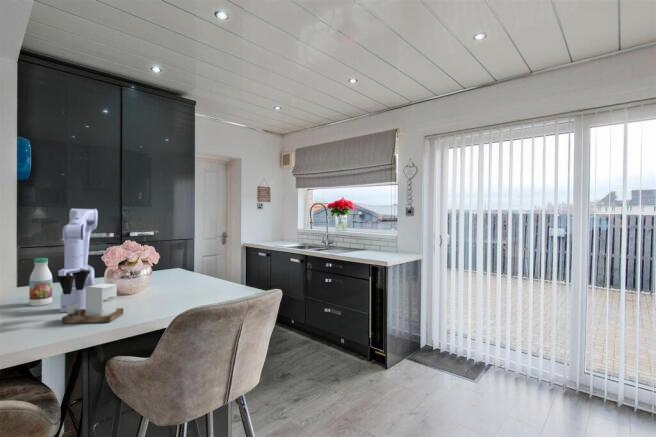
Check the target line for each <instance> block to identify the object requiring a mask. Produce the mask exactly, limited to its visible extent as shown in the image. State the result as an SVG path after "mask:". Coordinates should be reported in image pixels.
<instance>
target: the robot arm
mask: <svg viewBox="0 0 656 437" xmlns="http://www.w3.org/2000/svg"><path fill="white" fill-rule="evenodd" d="M98 213H99V211H98V210H97V208H71V209H69V217H68V218H69V219H68V220H69V222H68V224H66V225H64V226H63V228H62V239H63V245H64V267H63V268H62V269H59V270H58V274H57V275H55V277H56V280H57V281H58V282H59V283H58V284H60V286H61V290H62V291H61V294H60V310H59V313H67V305H68V304H70V303H79V309H85V304H86V287H88V286H93V285H95V280H96V279H95V269H94V267H92V266H91V265H89V264H88V263H89V262H88V261H89V249H90V239H91V238H90V237H91V235H92V232H93V231H95V230H96V229H97V226H98V219H99V218H98V217H99V214H98Z"/></svg>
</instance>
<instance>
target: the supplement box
mask: <svg viewBox="0 0 656 437" xmlns="http://www.w3.org/2000/svg"><path fill="white" fill-rule="evenodd" d="M117 290H118V284H117V283H99V284H97V283H96V284H94V285H93V286H88V287H86V304H85V315H84V316H108V315H110V314H112V313H113V312H115V311H116V308H117V306H118V303H117V301H118V299H117V297H118V295H117V294H118V291H117Z"/></svg>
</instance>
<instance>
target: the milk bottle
mask: <svg viewBox="0 0 656 437" xmlns="http://www.w3.org/2000/svg"><path fill="white" fill-rule="evenodd" d="M33 261H34V264H33V265H34V268H33V270H32V272H31V274H30V277H29V286H28V287H29V288H28V289H29V294H28V296H29V297H28V300H29V301H28V302H29V303H28V304H29V306H30V307H38V306H39V307H40V306H45V305H50V304H52V302H53V274H52V272H51V271H50V269H49V266H48V263H49V259H48V258H47V257H40V258H34V260H33Z"/></svg>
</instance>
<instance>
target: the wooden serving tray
mask: <svg viewBox="0 0 656 437" xmlns="http://www.w3.org/2000/svg"><path fill="white" fill-rule="evenodd" d="M123 314H124V308H123V307H121V308H120V307H119V308H116V311H115V312H113V313H112V314H110V315H108V316H85V309H79V303H70V304H68V305H67V312H66V315H64V316H63V317H61V324H73V323H74V324H75V323H76V324H78V323H79V324H80V323H82V324H83V323H85V324H86V323H110V322H112V321H113V320H116V318H118V317H120V316H122V315H123Z"/></svg>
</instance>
